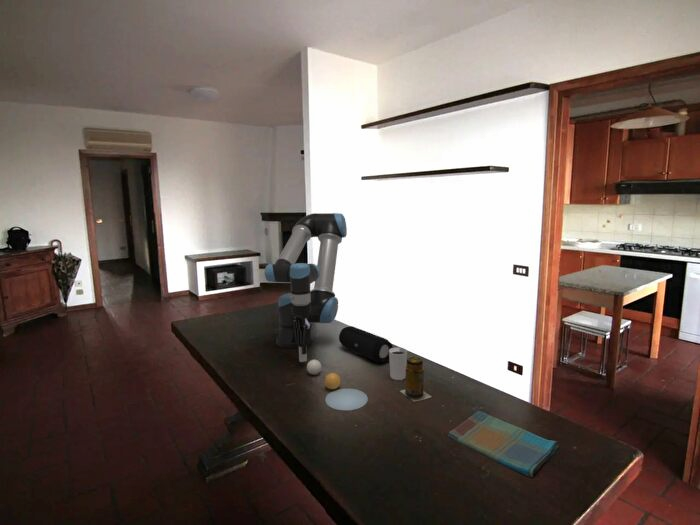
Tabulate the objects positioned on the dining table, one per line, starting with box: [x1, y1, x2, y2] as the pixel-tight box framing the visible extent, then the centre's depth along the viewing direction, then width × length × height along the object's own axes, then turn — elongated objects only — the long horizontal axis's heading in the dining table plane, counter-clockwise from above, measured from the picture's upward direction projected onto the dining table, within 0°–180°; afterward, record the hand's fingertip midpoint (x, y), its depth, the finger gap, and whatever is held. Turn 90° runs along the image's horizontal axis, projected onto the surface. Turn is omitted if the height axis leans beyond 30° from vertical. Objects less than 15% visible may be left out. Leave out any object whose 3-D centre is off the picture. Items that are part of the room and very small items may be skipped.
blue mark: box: [325, 388, 369, 412], centre depth 130 cm, size 14×14×1 cm
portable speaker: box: [338, 326, 394, 363], centre depth 166 cm, size 26×10×10 cm, turn 39°
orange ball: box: [324, 372, 342, 390], centre depth 137 cm, size 6×6×6 cm
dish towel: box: [447, 410, 560, 478], centre depth 106 cm, size 17×23×2 cm
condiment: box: [399, 356, 432, 403], centre depth 131 cm, size 7×8×12 cm
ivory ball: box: [306, 359, 322, 376], centre depth 148 cm, size 6×6×6 cm
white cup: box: [388, 346, 408, 381], centre depth 145 cm, size 7×7×10 cm
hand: (303, 360), depth 156 cm, fingers closed
